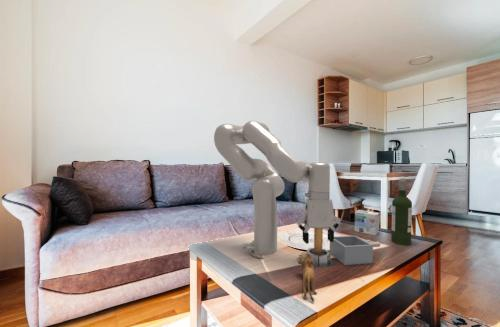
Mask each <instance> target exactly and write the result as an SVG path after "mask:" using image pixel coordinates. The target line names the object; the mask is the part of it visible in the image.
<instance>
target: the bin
mask: <svg viewBox="0 0 500 327" xmlns="http://www.w3.org/2000/svg"><path fill="white" fill-rule="evenodd" d="M364 240H365V239H363V238H361V237H359V236H357V235H342V236H341V235H340V236H334V239H333V242H330V241H329V252H330V256H331V255H332V256H333V258H335V259H337V260H338V261H339V262H340V263H342V264H343V265H344V266H351V265H352V266H353V265H364V264H373V263H374V262H373V260H374V258H373V257H374V247H373V245H372V244H370V243H368V242H366V241H364Z"/></svg>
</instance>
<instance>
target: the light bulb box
mask: <svg viewBox="0 0 500 327" xmlns="http://www.w3.org/2000/svg"><path fill="white" fill-rule="evenodd" d="M379 225H380V212H376V211H370V210H363V209H358V210H356V211H355V212H354V232H357V233H362V234H366V235H372V236H377V235H378V234H379V227H380V226H379Z"/></svg>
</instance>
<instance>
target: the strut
mask: <svg viewBox="0 0 500 327" xmlns="http://www.w3.org/2000/svg"><path fill="white" fill-rule="evenodd" d="M323 230H324V228H313V232H314V233H313V236H314V237H313V248H314V250H312V251H311V254H315V255H325V252H324V251H323V250H322V249H323V240H324V239H323V238H324V237H323V234H324V232H323Z"/></svg>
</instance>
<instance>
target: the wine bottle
mask: <svg viewBox="0 0 500 327" xmlns="http://www.w3.org/2000/svg"><path fill="white" fill-rule="evenodd" d="M406 181H407V179H406V178H402V177H400V178H399V179H398V194H397V196H396V197H395V198H393V200H392V201H391V240H390V241H391V242H392V243H393V244H396V245H397V244H398V245H402V246H409V245H411V244H412V221H413V220H412V218H413V217H412V216H413V215H412V214H413V211H412V210H413V202H412V200H411V199H409V197H408V196H407V190H406V189H407V188H406V187H407V186H406Z"/></svg>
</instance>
